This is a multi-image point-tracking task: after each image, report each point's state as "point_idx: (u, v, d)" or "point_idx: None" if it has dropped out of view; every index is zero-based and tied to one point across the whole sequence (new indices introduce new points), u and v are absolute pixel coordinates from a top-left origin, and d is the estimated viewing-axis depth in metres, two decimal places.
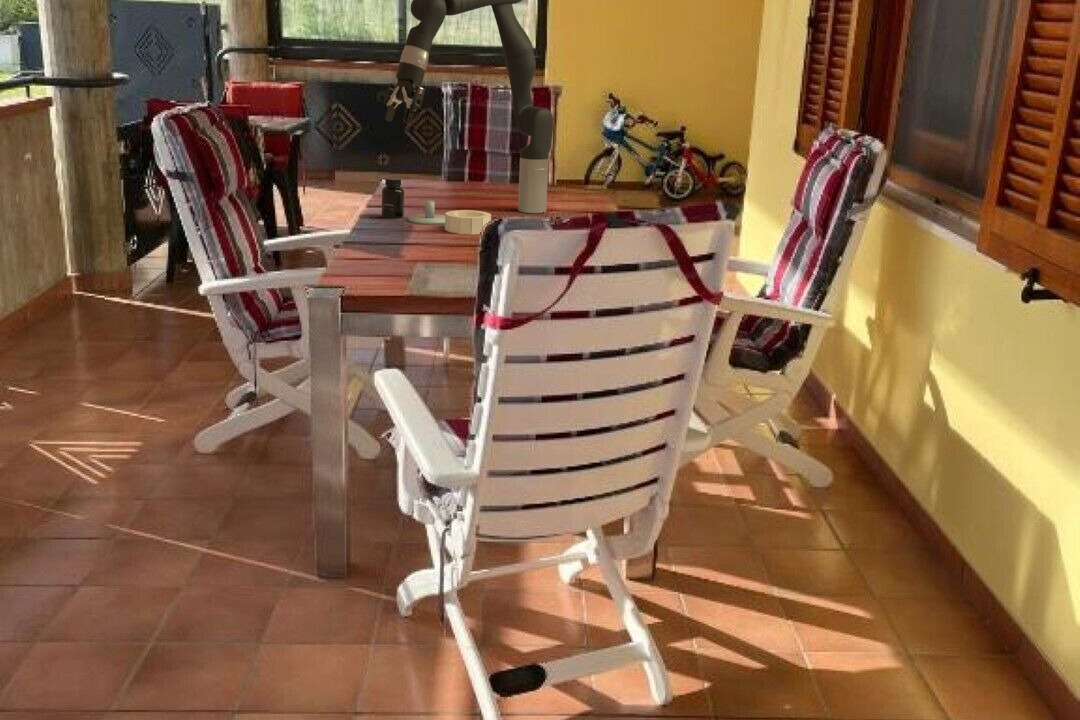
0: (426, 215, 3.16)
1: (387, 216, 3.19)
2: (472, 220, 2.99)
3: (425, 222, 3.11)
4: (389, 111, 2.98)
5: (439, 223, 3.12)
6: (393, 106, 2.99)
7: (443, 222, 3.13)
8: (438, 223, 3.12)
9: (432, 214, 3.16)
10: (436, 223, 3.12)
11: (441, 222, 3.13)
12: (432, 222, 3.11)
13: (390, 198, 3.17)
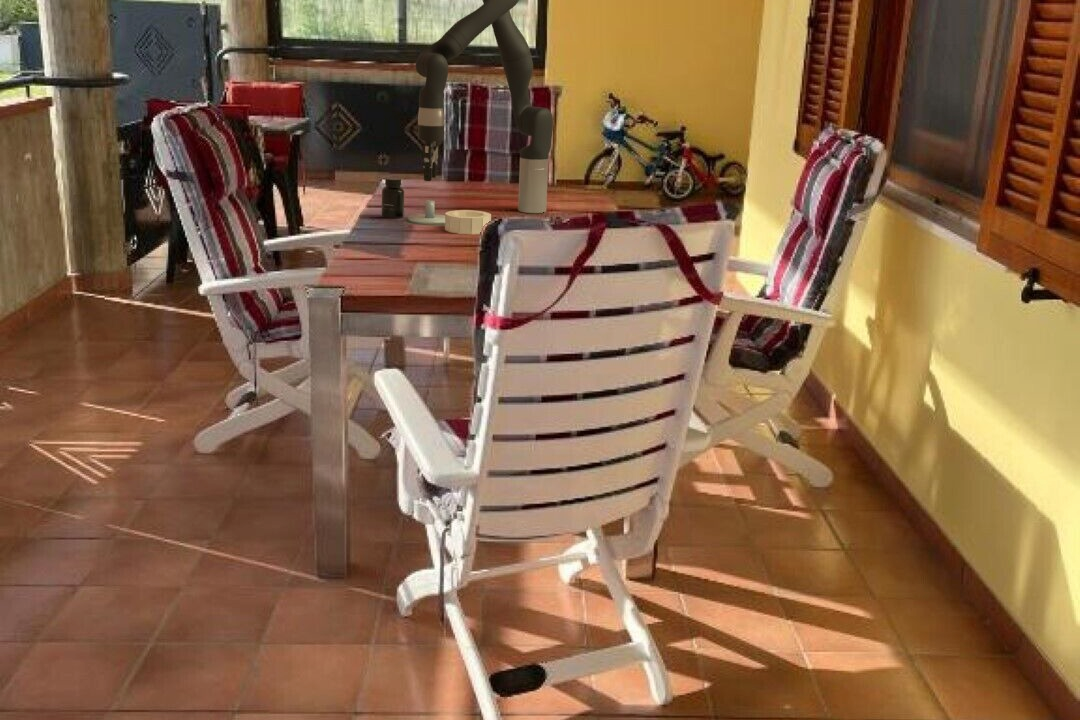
0: (426, 215, 3.16)
1: (387, 216, 3.19)
2: (472, 220, 2.99)
3: (425, 222, 3.11)
4: None
5: (439, 223, 3.12)
6: (433, 163, 3.16)
7: (443, 222, 3.13)
8: (438, 223, 3.12)
9: (432, 214, 3.16)
10: (436, 223, 3.12)
11: (441, 222, 3.13)
12: (432, 222, 3.11)
13: (390, 198, 3.17)
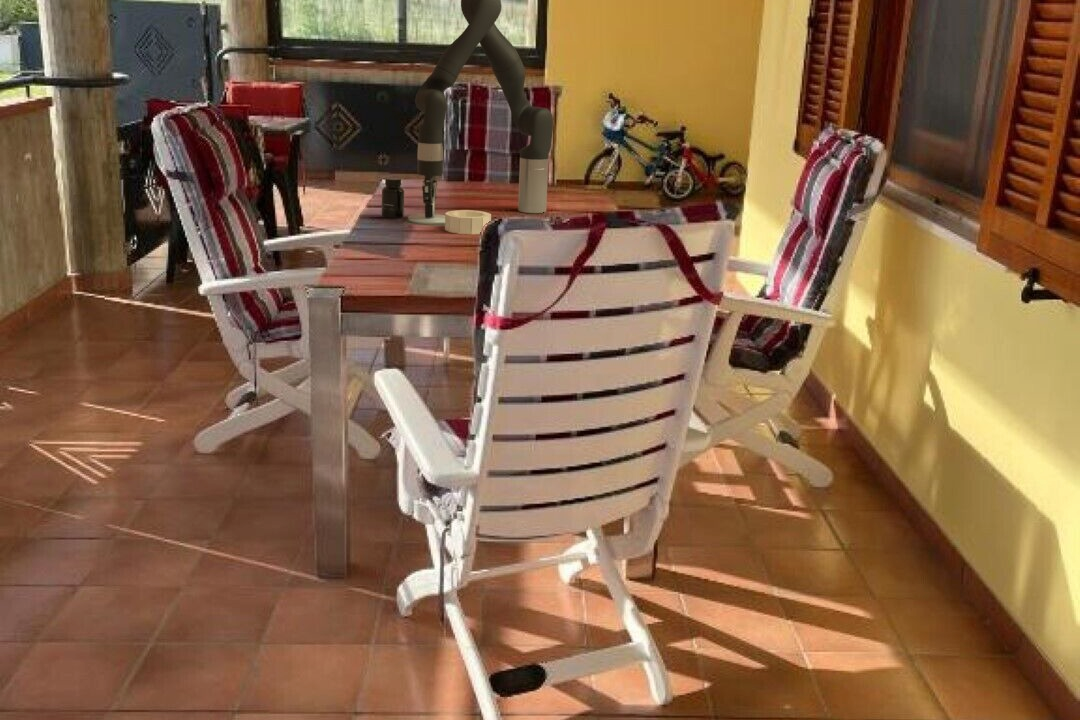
0: None
1: (387, 216, 3.19)
2: (472, 220, 2.99)
3: (425, 222, 3.11)
4: None
5: (439, 223, 3.12)
6: None
7: (443, 222, 3.13)
8: (438, 223, 3.12)
9: None
10: (436, 223, 3.12)
11: (441, 222, 3.13)
12: (432, 222, 3.11)
13: (390, 198, 3.17)
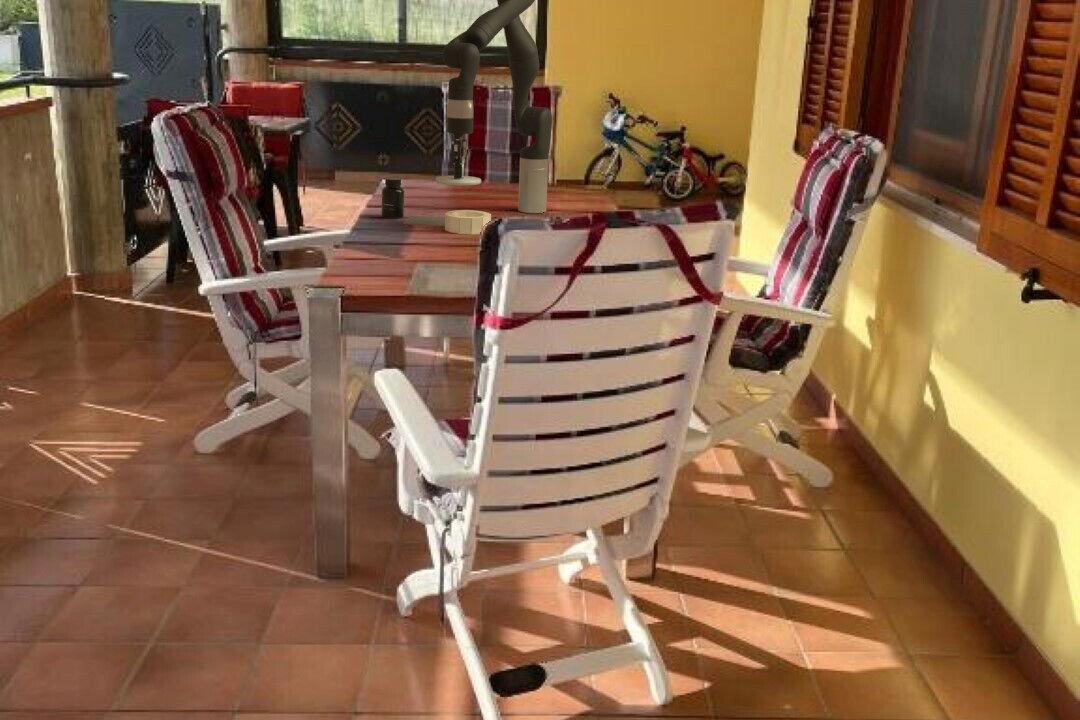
0: None
1: (387, 216, 3.19)
2: (472, 220, 2.99)
3: (454, 182, 2.98)
4: None
5: (468, 184, 2.99)
6: None
7: (472, 183, 3.00)
8: (467, 184, 2.99)
9: None
10: (465, 183, 2.99)
11: (470, 183, 3.00)
12: (461, 182, 2.98)
13: (390, 198, 3.17)
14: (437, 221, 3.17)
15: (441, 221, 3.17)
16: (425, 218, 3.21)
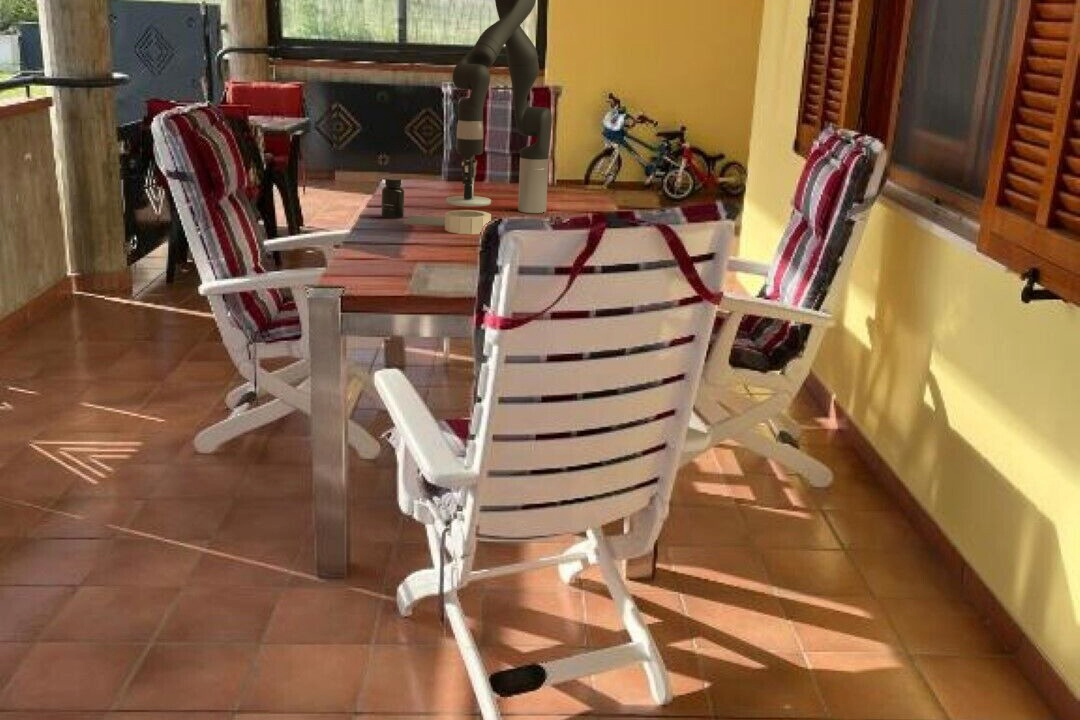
0: None
1: (387, 216, 3.19)
2: (472, 220, 2.99)
3: (464, 203, 2.98)
4: None
5: (479, 204, 2.99)
6: None
7: (483, 203, 3.00)
8: (478, 204, 2.99)
9: None
10: (476, 204, 2.98)
11: (481, 203, 2.99)
12: (472, 203, 2.98)
13: (390, 198, 3.17)
14: (437, 221, 3.17)
15: (441, 221, 3.17)
16: (425, 218, 3.21)
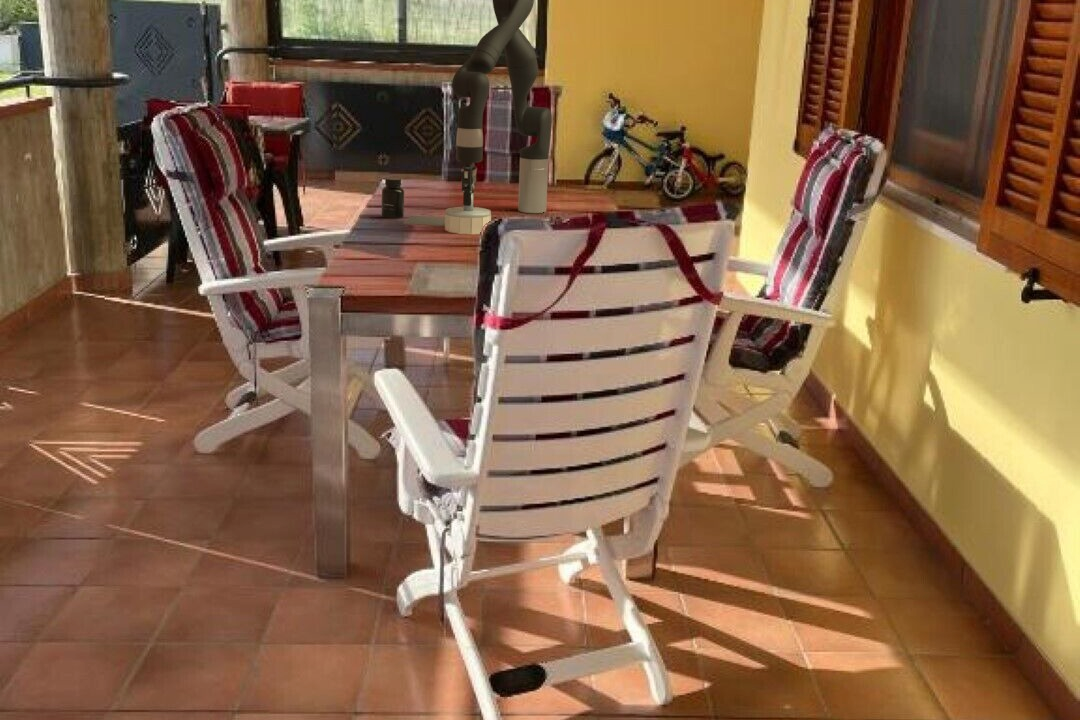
0: (464, 208, 3.04)
1: (387, 216, 3.19)
2: (472, 220, 2.99)
3: (464, 215, 2.99)
4: None
5: (479, 216, 3.00)
6: (471, 188, 3.05)
7: (483, 215, 3.01)
8: (478, 216, 3.00)
9: (471, 207, 3.04)
10: (476, 216, 2.99)
11: (481, 215, 3.00)
12: (471, 215, 2.99)
13: (390, 198, 3.17)
14: (437, 221, 3.17)
15: (441, 221, 3.17)
16: (425, 218, 3.21)
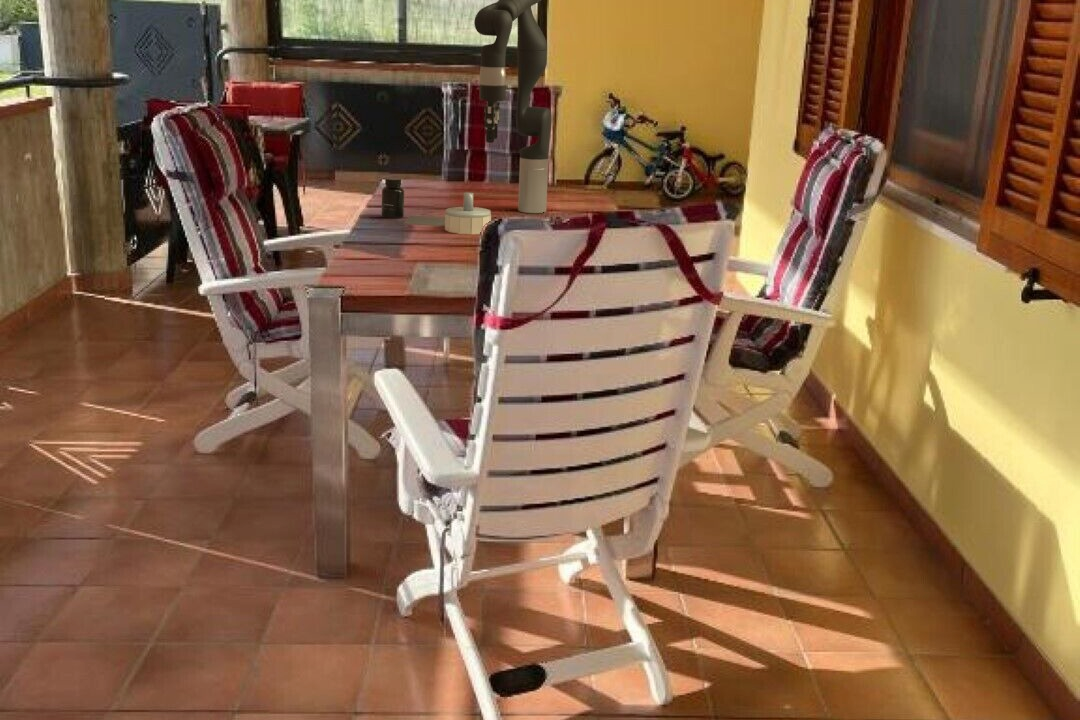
0: (464, 208, 3.04)
1: (387, 216, 3.19)
2: (472, 220, 2.99)
3: (464, 215, 2.99)
4: None
5: (479, 216, 3.00)
6: (494, 124, 3.09)
7: (483, 215, 3.01)
8: (478, 216, 3.00)
9: (471, 207, 3.04)
10: (476, 216, 2.99)
11: (481, 215, 3.00)
12: (471, 215, 2.99)
13: (390, 198, 3.17)
14: (437, 221, 3.17)
15: (441, 221, 3.17)
16: (425, 218, 3.21)
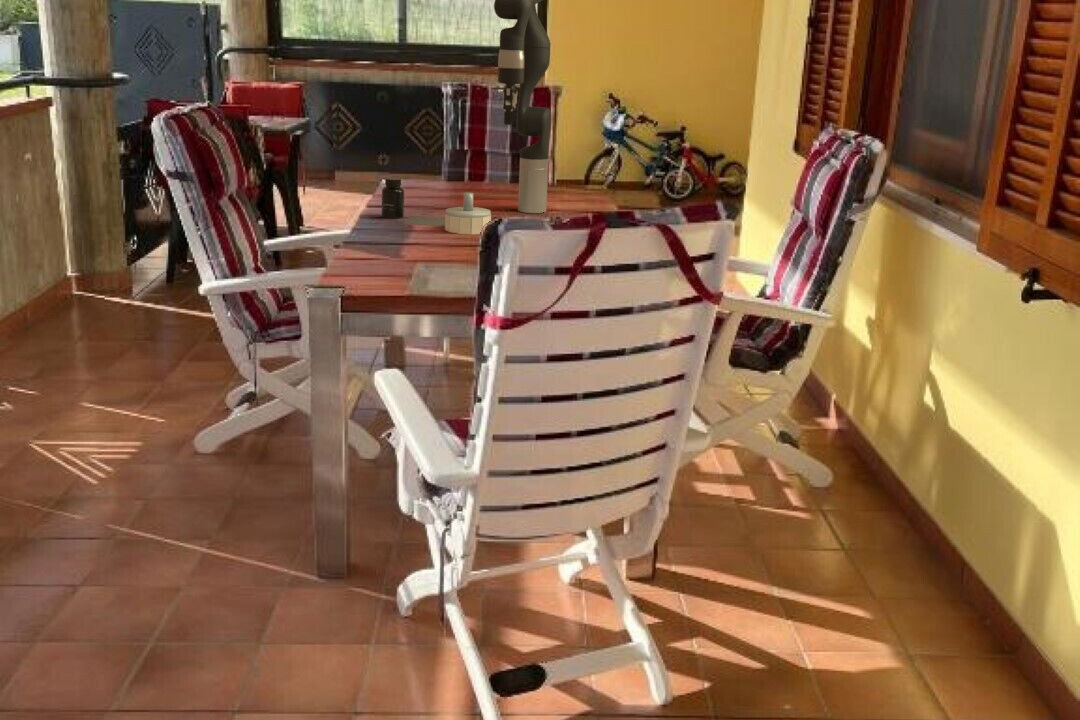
0: (464, 208, 3.04)
1: (387, 216, 3.19)
2: (472, 220, 2.99)
3: (464, 215, 2.99)
4: None
5: (479, 216, 3.00)
6: None
7: (483, 215, 3.01)
8: (478, 216, 3.00)
9: (471, 207, 3.04)
10: (476, 216, 2.99)
11: (481, 215, 3.00)
12: (471, 215, 2.99)
13: (390, 198, 3.17)
14: (437, 221, 3.17)
15: (441, 221, 3.17)
16: (425, 218, 3.21)
